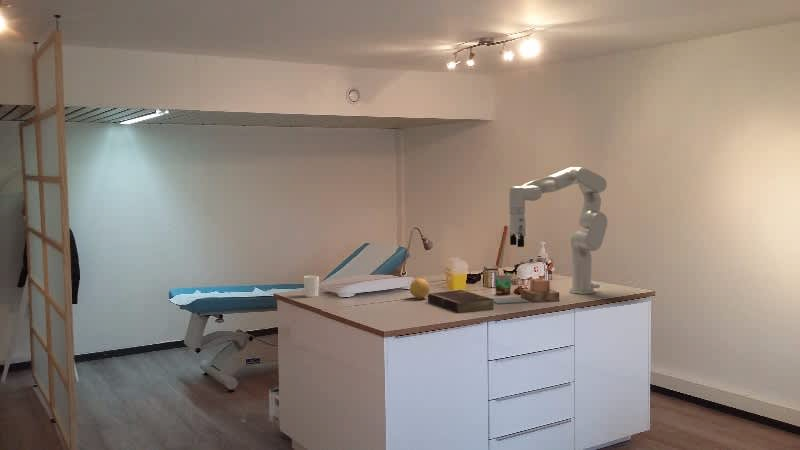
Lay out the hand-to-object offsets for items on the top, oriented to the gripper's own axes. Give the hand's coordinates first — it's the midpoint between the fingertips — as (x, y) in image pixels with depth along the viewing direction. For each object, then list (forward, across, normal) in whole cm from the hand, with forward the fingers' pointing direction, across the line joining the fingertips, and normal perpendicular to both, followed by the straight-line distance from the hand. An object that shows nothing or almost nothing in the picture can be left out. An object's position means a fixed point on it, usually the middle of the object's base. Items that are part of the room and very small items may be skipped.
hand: (516, 245), depth 357 cm
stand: (+26, -6, -9) cm, 28 cm away
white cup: (+26, +31, +98) cm, 106 cm away
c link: (+22, -6, -9) cm, 25 cm away
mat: (+26, -8, +8) cm, 28 cm away
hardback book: (+26, -12, +33) cm, 44 cm away
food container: (+26, +12, +1) cm, 29 cm away
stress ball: (+26, +10, +47) cm, 55 cm away
